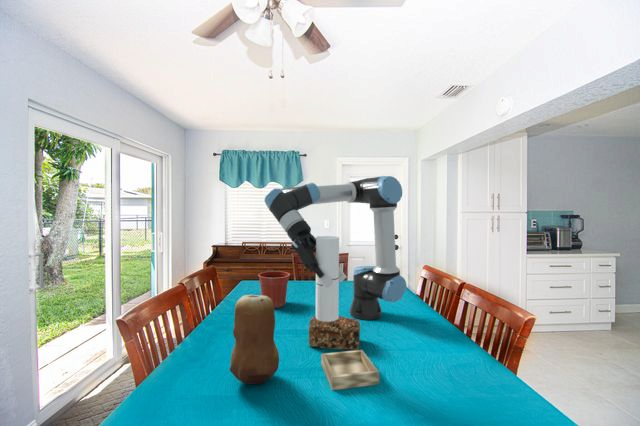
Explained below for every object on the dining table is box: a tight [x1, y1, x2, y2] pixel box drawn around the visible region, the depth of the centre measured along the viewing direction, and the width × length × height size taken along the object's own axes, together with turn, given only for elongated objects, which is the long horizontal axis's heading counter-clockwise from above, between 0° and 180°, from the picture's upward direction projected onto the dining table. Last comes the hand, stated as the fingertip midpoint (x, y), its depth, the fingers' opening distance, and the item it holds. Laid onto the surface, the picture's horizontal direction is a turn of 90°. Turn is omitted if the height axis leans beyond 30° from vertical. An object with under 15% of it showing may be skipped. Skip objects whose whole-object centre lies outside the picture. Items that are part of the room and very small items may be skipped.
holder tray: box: [320, 349, 380, 391], centre depth 92 cm, size 14×14×4 cm
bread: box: [308, 315, 361, 351], centre depth 113 cm, size 19×11×10 cm, turn 82°
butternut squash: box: [229, 293, 280, 386], centre depth 88 cm, size 14×13×25 cm
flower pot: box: [257, 270, 291, 309], centre depth 157 cm, size 16×16×16 cm
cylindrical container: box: [315, 235, 340, 322], centre depth 93 cm, size 7×7×25 cm
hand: (337, 282), depth 91 cm, fingers closed on cylindrical container, 7 cm apart
